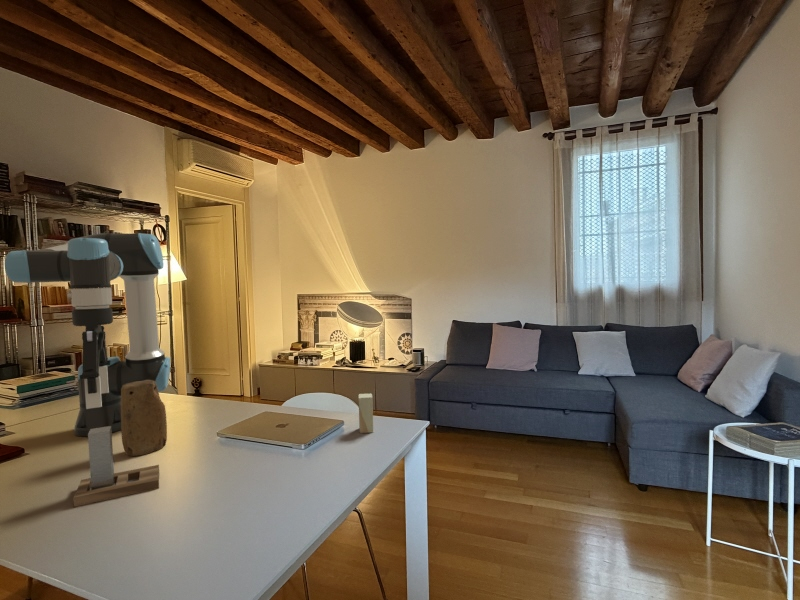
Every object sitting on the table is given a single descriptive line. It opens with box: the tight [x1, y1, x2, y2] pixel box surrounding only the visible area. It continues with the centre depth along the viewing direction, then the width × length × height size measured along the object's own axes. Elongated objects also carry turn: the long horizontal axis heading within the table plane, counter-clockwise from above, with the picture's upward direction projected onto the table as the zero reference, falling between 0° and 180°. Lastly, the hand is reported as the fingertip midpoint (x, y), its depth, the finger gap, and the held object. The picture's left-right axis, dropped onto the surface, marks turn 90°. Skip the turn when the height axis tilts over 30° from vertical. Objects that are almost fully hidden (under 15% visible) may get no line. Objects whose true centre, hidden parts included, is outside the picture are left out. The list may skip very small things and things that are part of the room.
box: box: [358, 393, 374, 434], centre depth 137 cm, size 5×4×11 cm
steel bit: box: [87, 426, 115, 490], centre depth 101 cm, size 4×4×14 cm
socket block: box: [73, 464, 160, 508], centre depth 103 cm, size 10×16×2 cm, turn 118°
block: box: [120, 380, 168, 457], centre depth 126 cm, size 11×8×20 cm
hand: (98, 400), depth 101 cm, fingers open, 13 cm apart
